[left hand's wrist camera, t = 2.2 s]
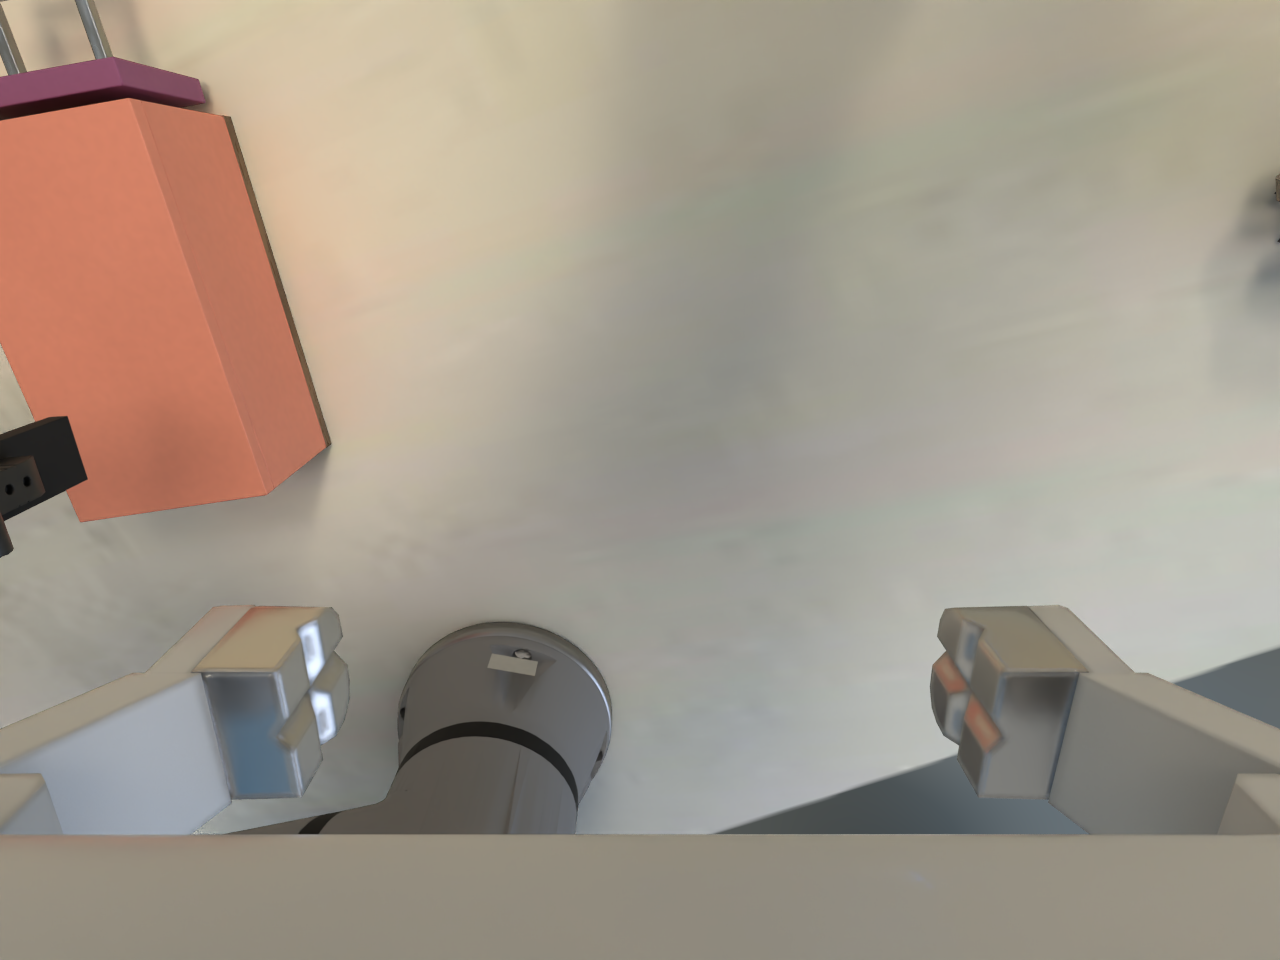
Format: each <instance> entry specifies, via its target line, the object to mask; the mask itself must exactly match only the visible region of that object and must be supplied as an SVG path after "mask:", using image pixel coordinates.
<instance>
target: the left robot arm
mask: <svg viewBox="0 0 1280 960" xmlns="http://www.w3.org/2000/svg"><path fill="white" fill-rule="evenodd" d="M342 637H343V635H342V629H341V624H340V619H339V615H338V614H337V612H336V611H335V610H334V609H333V608H332V607H295V606H255V605H237V606H219V607H213V608H212V609H211V610H210V611H209V612H208V613H207V614H206V615H205V616H204V617H203V618H202V619H200V620H199V621H198V622H197V623H196V624H195V625H194V626H193V627H192V628H191V629H190V630H189V631H188V632H187V633H186V634H185V635H184V636H183V637H182V638H181V639H180V640H179V641H178V642H177V643H176V644H175V645H173V646H172V647H171V648H170V649H169V650H168V651H167V652H166V653H165V654H164V655H163V656H162V657H161V658H160V659H159V660H158V661H157V662H156V663H155V664H154V665H153V666H152V667H151V668H150V669H149V670H147V671H146V672H145V673H131V674H129V675H126V676H124V677H122V678H119V679H117V680H115V681H112V682H110V683H108V684H105V685H103V686H100V687H98V688H96V689H93V690H91V691H89V692H86V693H84V694H82V695H79V696H77V697H75V698H72V699H70V700H68V701H65V702H63V703H60V704H58V705H56V706H53V707H51V708H49V709H46V710H44V711H42V712H39V713H37V714H35V715H32V716H30V717H27V718H25V719H23V720H20V721H18V722H16V723H13V724H11V725H9V726H6V727H4V728H2V729H0V960H1280V729H1278V728H1276V727H1273V726H1271V725H1269V724H1266V723H1264V722H1262V721H1259V720H1257V719H1255V718H1252V717H1250V716H1248V715H1245V714H1243V713H1240V712H1238V711H1236V710H1233V709H1231V708H1229V707H1226V706H1224V705H1222V704H1219V703H1217V702H1215V701H1212V700H1210V699H1208V698H1205V697H1203V696H1200V695H1198V694H1196V693H1193V692H1191V691H1189V690H1186V689H1184V688H1182V687H1179V686H1177V685H1175V684H1172V683H1170V682H1168V681H1165V680H1163V679H1161V678H1158V677H1156V676H1154V675H1151V674H1149V673H1135V672H1134V671H1133V670H1132V669H1130V668H1129V667H1128V666H1127V665H1126V664H1125V663H1124V662H1123V661H1122V660H1121V659H1120V658H1119V657H1118V656H1117V655H1116V654H1115V653H1114V652H1113V651H1112V650H1111V649H1110V648H1109V647H1108V646H1107V645H1106V644H1105V643H1104V642H1103V641H1101V640H1100V639H1099V638H1098V637H1097V636H1096V635H1095V634H1094V633H1093V632H1092V631H1091V630H1090V629H1089V628H1088V627H1087V626H1086V625H1085V624H1084V623H1083V622H1082V621H1081V620H1080V619H1079V618H1078V617H1077V616H1076V615H1075V614H1073V613H1072V612H1071V611H1070V610H1069V609H1068V608H1066V607H1063V606H1060V605H1044V606H1004V607H963V608H948V609H945V610H944V612H943V614H942V617H941V619H940V623H939V628H938V634H937V637H938V639H939V640H940V642H941V643H942V645H943V646H944V648H945V649H946V652H945V653H944V654H943V655H942V656H941V657H940V658H939V659H938V660H937V661H936V662H935V663H934V664H933V665H932V674H931V682H930V693H931V704H932V709H933V713H934V716H935V719H936V722H937V724H938V726H939V728H940V730H941V732H942V734H943V735H944V736H945V737H947V738H948V739H950V740H951V741H953V742H954V743H956V744H958V745H959V750H958V756H957V761H958V762H959V764H960V766H961V768H962V769H963V771H964V773H965V775H966V776H967V778H968V780H969V782H970V784H971V785H972V787H973V789H974V791H975V792H976V794H977V796H978V797H979V798H1011V799H1047V800H1049V801H1048V803H1049V804H1051V805H1052V806H1053V807H1055V808H1056V809H1057V810H1058V811H1060V812H1061V813H1062V814H1064V815H1065V816H1066V817H1068V818H1069V819H1070V820H1072V821H1073V822H1074V823H1075V824H1077V825H1078V826H1079V827H1081V828H1082V829H1083V830H1085V831H1086V832H1087V833H1089V834H192V833H193V832H194V831H196V830H197V829H198V828H200V827H201V826H202V825H203V824H205V823H206V822H207V821H209V820H210V819H211V818H213V817H214V816H215V815H217V814H218V813H219V812H220V811H222V810H223V809H224V808H226V807H227V806H228V805H230V804H231V802H232V801H231V800H233V799H268V798H302V796H303V794H304V792H305V791H306V789H307V787H308V785H309V784H310V782H311V780H312V778H313V777H314V775H315V773H316V771H317V769H318V768H319V766H320V764H321V762H322V761H323V756H322V750H321V745H322V744H324V743H326V742H327V741H329V740H330V739H332V738H333V737H335V736H336V735H337V734H338V732H339V730H340V728H341V726H342V724H343V722H344V720H345V716H346V712H347V707H348V703H349V699H350V679H349V672H348V665H347V664H346V663H345V662H344V661H343V660H342V659H341V658H340V657H339V656H338V655H337V654H336V653H335V652H334V649H335V648H336V646H337V645H338V643H339V642H340V640H341V639H342Z"/></svg>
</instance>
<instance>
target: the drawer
mask: <svg viewBox="0 0 1280 960" xmlns="http://www.w3.org/2000/svg"><path fill="white" fill-rule="evenodd" d="M1 1H7V0H0V2H1ZM75 2H76V5H77V8H78V11H79V13H80V16H81V19H82V22H83V25H84V27H85V30H86V33H87V36H88V39H89V41H90V44H91V47H92V50H93V53H94V56H95V58H96V60H91V61H85V62H80V63H74V64H69V65H63V66H58V67H52V68H47V69H41V70H36V71H30V72H27V71H26V68H25V65H24V63H23V60H22V58H21V55H20V52H19V50H18V47H17V45H16V42H15V40H14V37H13V34H12V32H11V29H10V27H9V24H8V21H7V19H6V16H5V14H4V11H3V8H2V6H1V4H0V55H1V58H2V60H3V63H4V65H5V68H6V70H7V73H8V76H2V77H0V121H1V120H7V119H12V118H18V117H24V116H29V115H35V114H41V113H46V112H52V111H58V110H63V109H69V108H74V107H80V106H86V105H91V104H97V103H103V102H108V101H114V100H119V99H125V98H132V99H137V100H141V101H146V102H152V103H157V104H162V105H167V106H172V107H178V108H181V107H186V106H192V105H198V104H203V103H206V101H205V98H204V95H203V92H202V89H201V85H200V82H199V80H198V79H195V78H192V77H188V76H184V75H180V74H176V73H173V72H169V71H165V70H161V69H158V68H154V67H150V66H146V65H142V64H139V63H135V62H131V61H127V60H123V59H120V58H116V57H113V55H112V52H111V49H110V46H109V43H108V40H107V38H106V35H105V32H104V29H103V26H102V23H101V20H100V17H99V15H98V12H97V9H96V6H95V3H94V0H75Z"/></svg>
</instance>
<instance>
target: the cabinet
mask: <svg viewBox="0 0 1280 960" xmlns="http://www.w3.org/2000/svg"><path fill="white" fill-rule="evenodd" d="M0 343H1V345H2V348H3V350H4V352H5V354H6V357H7V359H8V361H9V363H10V366H11V368H12V370H13V372H14V375H15V377H16V379H17V381H18V384H19V386H20V388H21V390H22V393H23V395H24V397H25V399H26V402H27V404H28V406H29V408H30V411H31V413H32V415H33V417H34V420H35V422H36V421H39V420H42V419H45V418H48V417H57V416H68V419H69V422H70V425H71V428H72V431H73V435H74V438H75V441H76V444H77V447H78V450H79V453H80V456H81V459H82V462H83V465H84V468H85V472H86V475H87V478H88V480H86V481H84V482H82V483H80V484H78V485H76V486H74V487H72V488H70V489H68V490H66V491H67V494H68V496H69V498H70V500H71V503H72V505H73V507H74V509H75V512H76V514H77V516H78V518H79V521H80V522H86V521H93V520H100V519H107V518H114V517H120V516H127V515H134V514H141V513H148V512H154V511H161V510H168V509H175V508H181V507H188V506H195V505H202V504H209V503H215V502H222V501H229V500H236V499H243V498H249V497H256V496H263V495H267V494H269V493H270V492H271V491H272V490H274V489H275V488H276V487H277V486H278V485H280V484H281V483H282V482H283V481H285V480H286V479H287V478H288V477H290V476H291V475H292V474H293V473H295V472H296V471H297V470H298V469H300V468H301V467H302V466H303V465H305V464H306V463H307V462H308V461H310V460H311V459H312V458H313V457H315V456H316V455H317V454H318V453H320V452H321V451H322V450H323V449H325V448H327V447H328V446H329V445H331V441H330V438H329V435H328V432H327V428H326V425H325V422H324V419H323V415H322V412H321V409H320V406H319V402H318V399H317V396H316V393H315V389H314V386H313V383H312V380H311V376H310V373H309V370H308V367H307V364H306V360H305V357H304V354H303V351H302V347H301V344H300V341H299V338H298V334H297V331H296V328H295V325H294V321H293V318H292V315H291V312H290V308H289V305H288V302H287V299H286V295H285V292H284V289H283V286H282V282H281V279H280V276H279V273H278V270H277V266H276V263H275V260H274V257H273V253H272V250H271V247H270V244H269V240H268V237H267V234H266V231H265V227H264V224H263V221H262V218H261V214H260V211H259V208H258V205H257V201H256V198H255V195H254V192H253V189H252V185H251V182H250V179H249V176H248V172H247V169H246V166H245V163H244V159H243V156H242V153H241V150H240V146H239V143H238V140H237V137H236V133H235V130H234V127H233V124H232V120H231V117H228V116H219V115H214V114H209V113H204V112H199V111H193V110H188V109H183V108H178V107H172V106H167V105H162V104H157V103H152V102H146V101H141V100H137V99H132V98H125V99H119V100H114V101H108V102H103V103H97V104H91V105H86V106H80V107H74V108H69V109H63V110H58V111H52V112H46V113H41V114H35V115H29V116H24V117H18V118H12V119H7V120H1V121H0Z"/></svg>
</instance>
